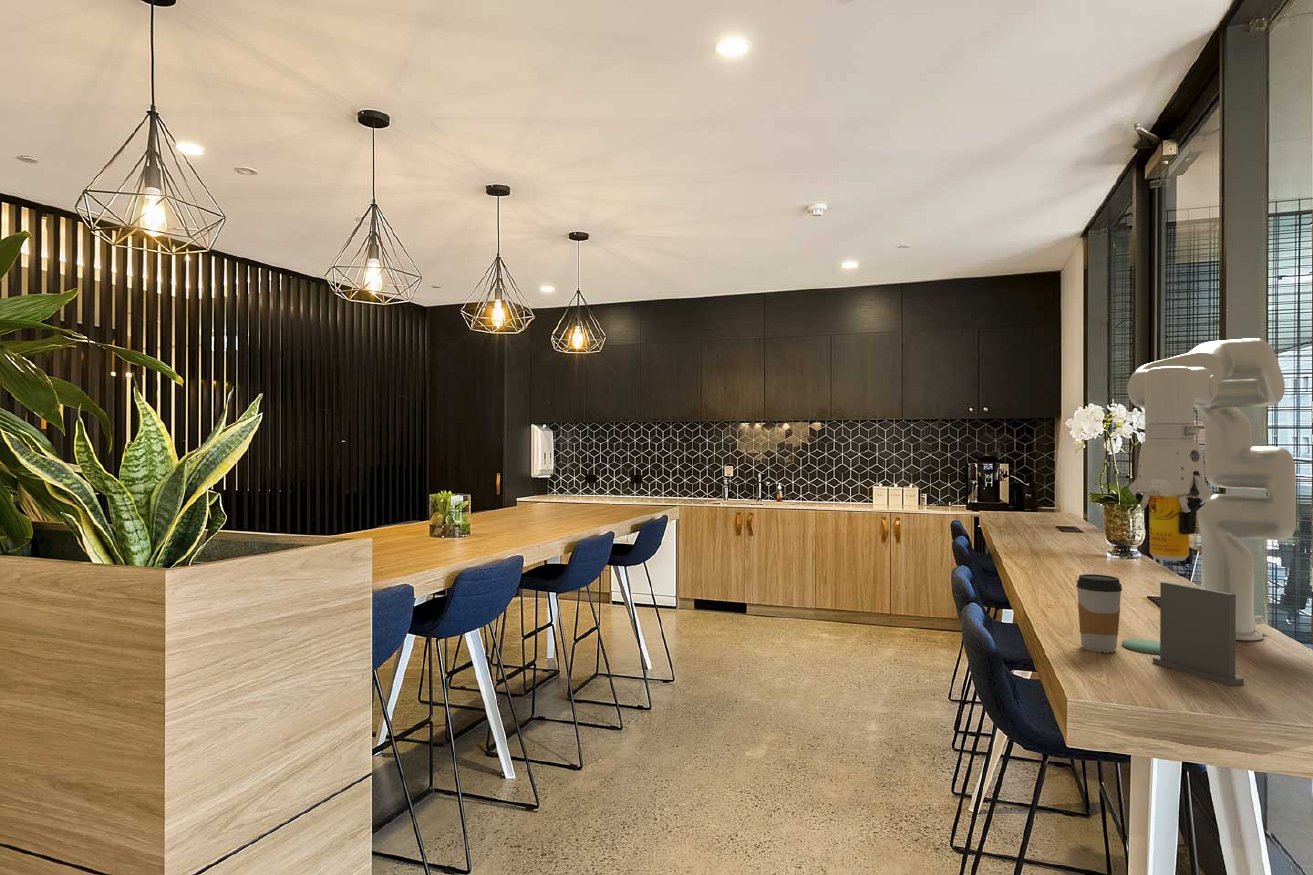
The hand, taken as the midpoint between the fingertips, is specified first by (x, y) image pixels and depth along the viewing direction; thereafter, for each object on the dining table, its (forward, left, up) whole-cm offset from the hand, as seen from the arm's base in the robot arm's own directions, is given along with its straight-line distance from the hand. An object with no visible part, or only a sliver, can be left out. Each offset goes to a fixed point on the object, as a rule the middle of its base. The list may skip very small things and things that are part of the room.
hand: (1169, 530), depth 141 cm
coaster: (-16, -16, -27) cm, 35 cm away
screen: (-8, 0, -27) cm, 28 cm away
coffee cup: (-5, -19, -27) cm, 33 cm away
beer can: (0, 0, -5) cm, 5 cm away
